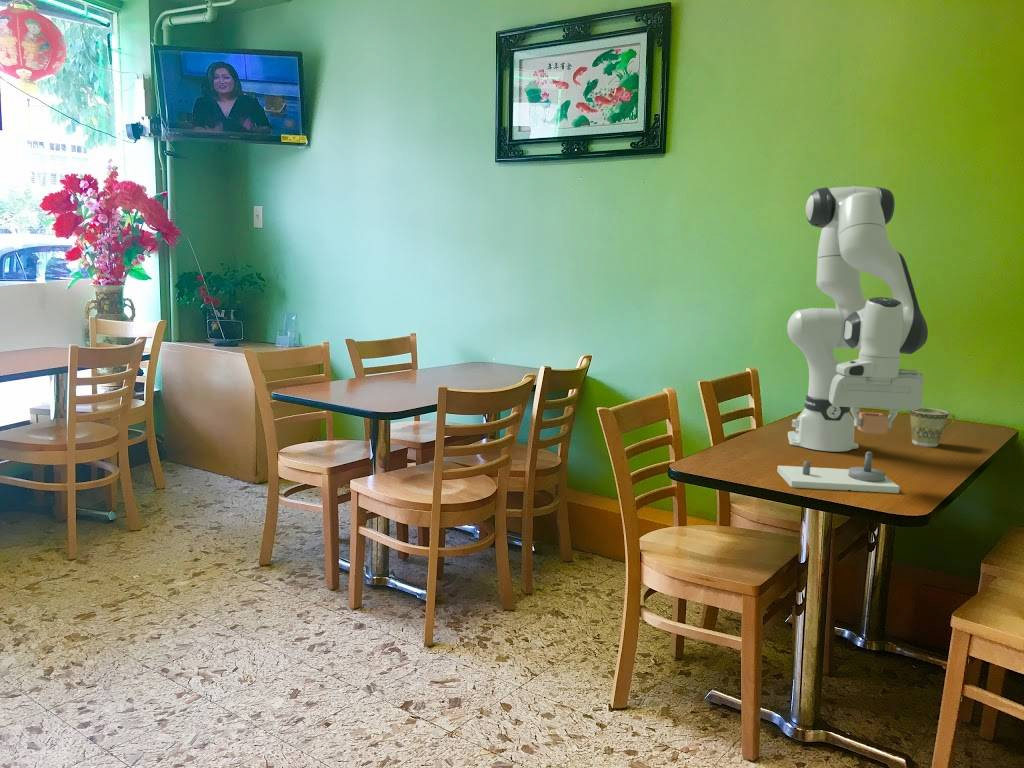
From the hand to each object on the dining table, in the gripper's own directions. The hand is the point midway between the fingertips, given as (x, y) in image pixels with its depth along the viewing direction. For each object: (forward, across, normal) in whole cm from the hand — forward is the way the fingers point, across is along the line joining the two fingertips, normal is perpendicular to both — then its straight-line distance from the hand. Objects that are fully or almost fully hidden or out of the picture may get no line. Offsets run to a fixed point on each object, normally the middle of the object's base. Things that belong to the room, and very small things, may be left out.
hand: (872, 426), depth 190 cm
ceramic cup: (+13, -34, -48) cm, 61 cm away
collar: (+1, 0, 0) cm, 1 cm away
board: (+14, +7, 0) cm, 15 cm away
